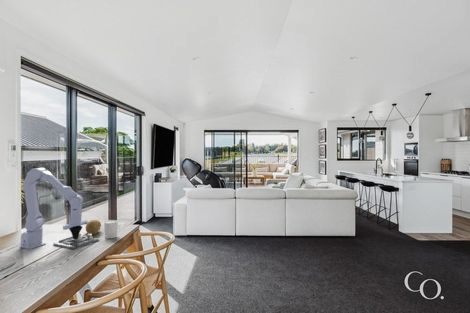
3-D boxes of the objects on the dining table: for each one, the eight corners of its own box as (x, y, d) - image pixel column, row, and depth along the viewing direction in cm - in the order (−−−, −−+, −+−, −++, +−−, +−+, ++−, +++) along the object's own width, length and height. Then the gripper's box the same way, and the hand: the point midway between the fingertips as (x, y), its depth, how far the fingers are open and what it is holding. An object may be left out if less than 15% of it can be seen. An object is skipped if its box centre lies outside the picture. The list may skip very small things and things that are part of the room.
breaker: (77, 241, 161) (78, 234, 161) (74, 240, 162) (75, 234, 162) (82, 239, 164) (82, 233, 164) (79, 239, 165) (79, 233, 165)
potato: (102, 229, 190) (102, 216, 190) (98, 236, 175) (98, 222, 175) (88, 230, 187) (88, 216, 187) (83, 237, 172) (83, 222, 172)
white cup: (114, 234, 180) (115, 219, 180) (119, 237, 174) (119, 221, 174) (102, 236, 175) (102, 221, 174) (106, 239, 169) (107, 223, 169)
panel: (73, 249, 151) (74, 240, 151) (53, 245, 156) (53, 236, 156) (98, 240, 167) (99, 232, 167) (79, 237, 172) (79, 229, 172)
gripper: (69, 219, 152) (69, 243, 152) (91, 214, 166) (90, 236, 166) (60, 217, 155) (60, 241, 155) (82, 213, 168) (82, 234, 169)
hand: (75, 238), depth 161 cm, fingers closed
